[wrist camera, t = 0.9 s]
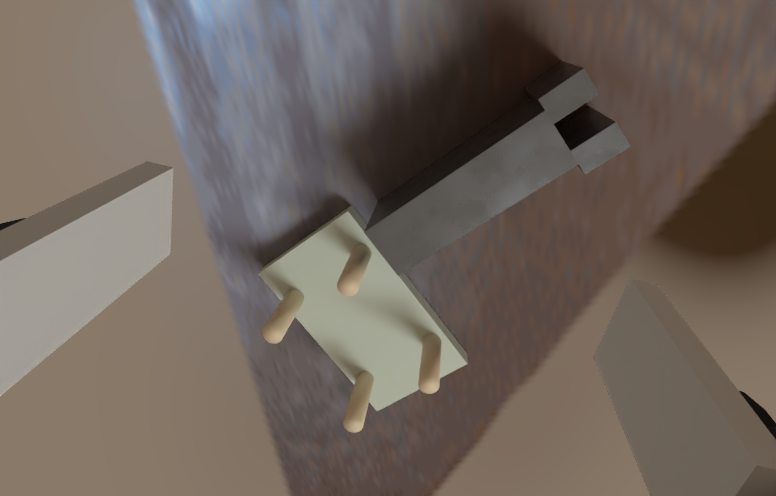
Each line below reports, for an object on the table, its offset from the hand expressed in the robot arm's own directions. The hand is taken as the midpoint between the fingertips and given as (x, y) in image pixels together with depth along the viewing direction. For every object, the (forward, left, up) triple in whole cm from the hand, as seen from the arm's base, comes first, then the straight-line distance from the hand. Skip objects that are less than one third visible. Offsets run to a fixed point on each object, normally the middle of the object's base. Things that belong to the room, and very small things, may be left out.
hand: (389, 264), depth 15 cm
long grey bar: (+5, +1, -27) cm, 27 cm away
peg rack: (+10, -14, -27) cm, 32 cm away
